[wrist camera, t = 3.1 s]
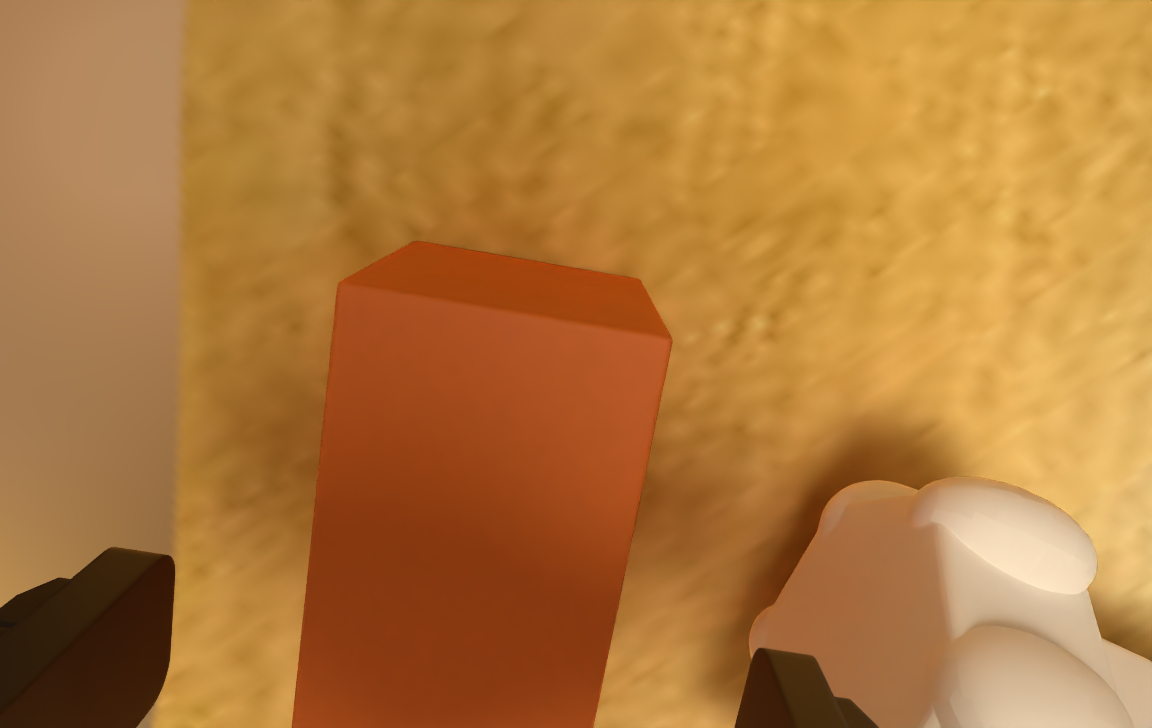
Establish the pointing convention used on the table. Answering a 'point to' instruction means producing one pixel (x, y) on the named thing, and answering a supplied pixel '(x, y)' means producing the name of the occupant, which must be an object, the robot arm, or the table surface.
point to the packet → (475, 491)
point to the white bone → (956, 611)
